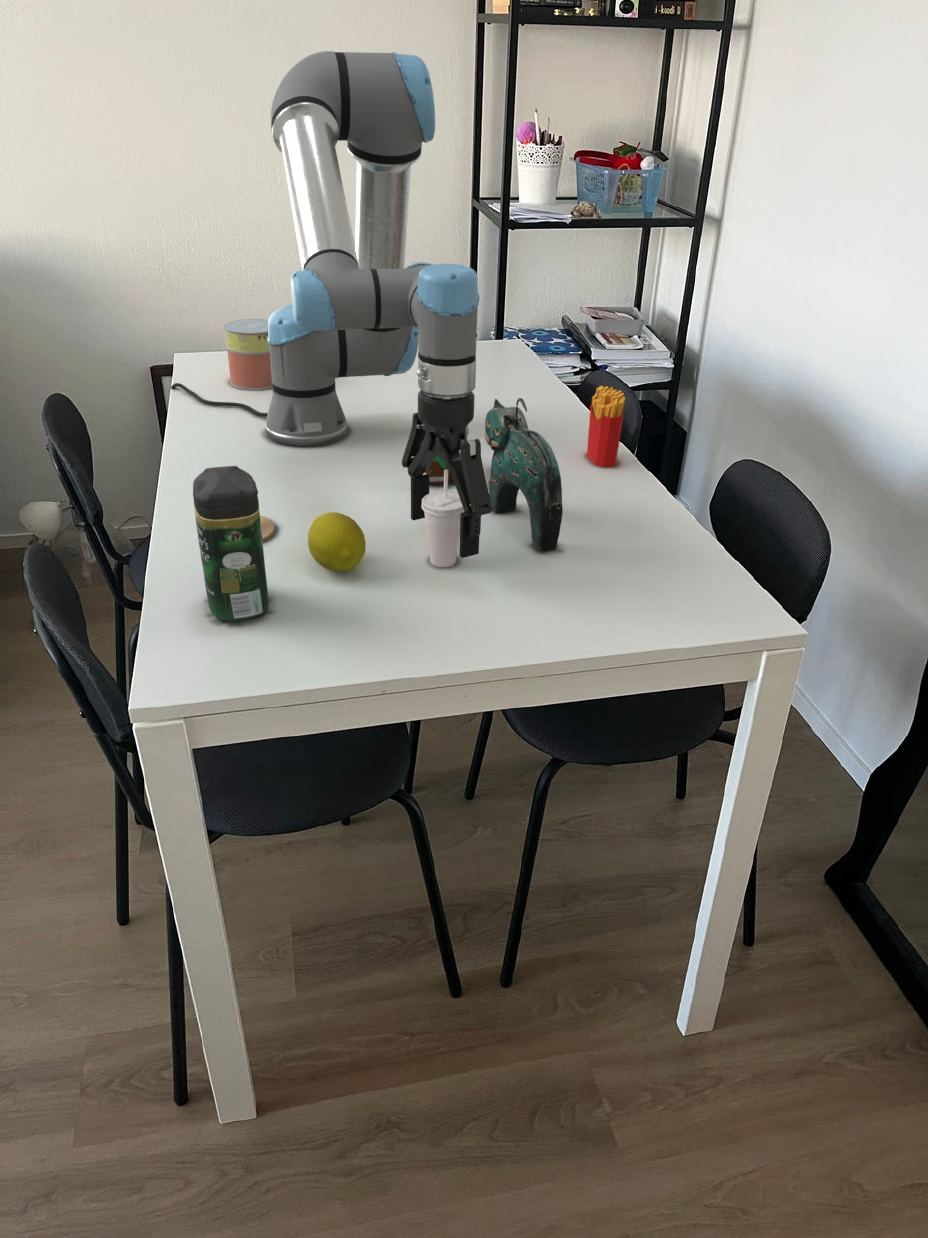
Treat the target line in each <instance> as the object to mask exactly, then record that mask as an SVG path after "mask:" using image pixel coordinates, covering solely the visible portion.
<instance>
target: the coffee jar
mask: <svg viewBox="0 0 928 1238" xmlns="http://www.w3.org/2000/svg"><path fill="white" fill-rule="evenodd" d="M258 494H259V491H258V487H257V483H256V481H255V480H254V477H253V476H252V475H251V474H250V473H249V472H247V471H246V470H244V469H242V468H240V467H239V466H237V465H226V466H225V465H223V466H215V467H206V468H205V469H204V470H203V471H202V472H200V473H199V474H198V475H197V476H196V477H195V478H194V479H193V482H192V498H193V507H194V517H195V524H196V532H197V539H198V547H199V553H200V560H201V566H202V571H203V580H204V586H205V592H206V597H207V599H206V600H207V604H208V608H209V610H210V613H211V614H212V616H213V617H214V618H215V619H217V620H221V621H230V622H242V621H248V620H249V621H250V620H251V619H254V618H257V617H259V616H262V615H264V614H265V613H266V612H267V610H268V608H269V605H270V604H269V592H268V582H267V581H268V580H267V572H266V563H265V553H264V552H265V551H264V541H263V542H262V532H261V522H260V516H261V513H260V502H259V495H258Z"/></svg>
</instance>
